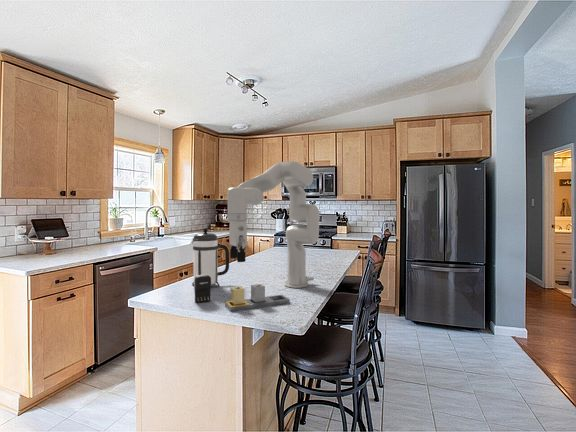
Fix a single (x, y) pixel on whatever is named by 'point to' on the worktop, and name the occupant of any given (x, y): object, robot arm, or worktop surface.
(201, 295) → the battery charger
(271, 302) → the grey block holder rack
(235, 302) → the wooden block with knob
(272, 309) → the worktop surface
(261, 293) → the grey block with knob
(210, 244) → the coffee press
